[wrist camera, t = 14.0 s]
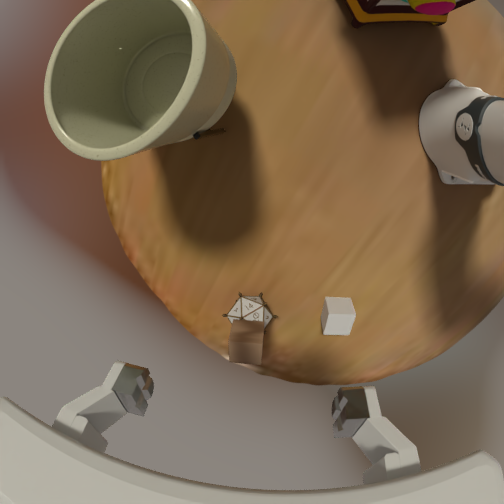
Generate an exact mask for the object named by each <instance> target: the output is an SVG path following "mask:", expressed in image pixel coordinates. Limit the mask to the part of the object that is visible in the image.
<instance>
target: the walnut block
mask: <svg viewBox="0 0 504 504" xmlns="http://www.w3.org/2000/svg"><path fill="white" fill-rule="evenodd" d="M263 337H264V321H251V320H238V319H233V323H232V327H231V332H230V336H229V341H228V342H229V360H230V362H233V363H244V364H256V365H261V361H262V349H263Z"/></svg>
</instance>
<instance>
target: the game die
mask: <svg viewBox="0 0 504 504" xmlns="http://www.w3.org/2000/svg"><path fill="white" fill-rule="evenodd" d="M262 295H263V294H262V293H260V295H259V296H242V294H241V293H240V292H239V296H240V298H239V299H238V300H236V303H235V304H234V306H233V307H232V308H231V310H230V311H229V312H228V314H227V315H226V314H223V315H222V316H223V317H226V316H227V318H228V319H229V321H230V322H231V324H232V323H233V319H238V320H251V321H264V329H265V328H266V327H267V325H268V324H269V322H270V321H271V319H272V318H273V317H274V318H276V317H278V316H276V315H274V316H273V315H272V313H271V312H270V310H269V309H268V307H267V306H266V305H267V303H266V302H265V303H264V301H263V300H262V298H261V296H262ZM264 334H266V331H264Z"/></svg>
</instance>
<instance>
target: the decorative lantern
mask: <svg viewBox="0 0 504 504" xmlns="http://www.w3.org/2000/svg"><path fill="white" fill-rule="evenodd" d="M473 1H475V0H345V2H346V4H347V6H348V8H349V10H350V12H351V14H352V17H353V20H352V26H353V27H354V28H359V27H361V26H363V25H366V24H371V23H386V22H430V23H432V24H433V25H436V26H439V25H442V24H444V23H446V21H447V16H448V13H449V12H450V11H452V10H454V9H457V8H459V7H461V6H463V5H466V4H468V3H470V2H473Z"/></svg>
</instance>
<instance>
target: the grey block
mask: <svg viewBox="0 0 504 504" xmlns="http://www.w3.org/2000/svg"><path fill="white" fill-rule="evenodd" d="M355 316H356V313H355V310H354V307H353V303H352V300H351V298H341V297H325V301H324V305H323V309H322V314H321V323H322V329H323V335H349V334H350V331H351V328H352V325H353V322H354V319H355Z"/></svg>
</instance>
